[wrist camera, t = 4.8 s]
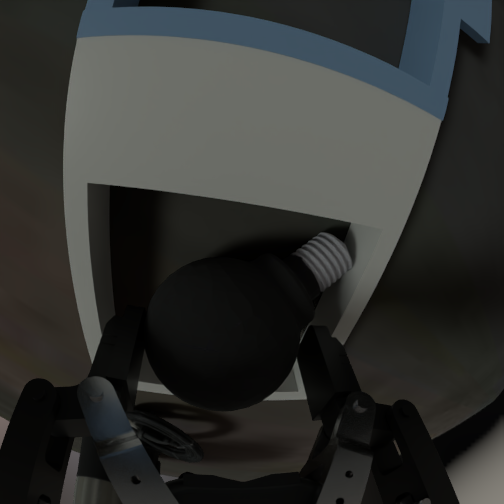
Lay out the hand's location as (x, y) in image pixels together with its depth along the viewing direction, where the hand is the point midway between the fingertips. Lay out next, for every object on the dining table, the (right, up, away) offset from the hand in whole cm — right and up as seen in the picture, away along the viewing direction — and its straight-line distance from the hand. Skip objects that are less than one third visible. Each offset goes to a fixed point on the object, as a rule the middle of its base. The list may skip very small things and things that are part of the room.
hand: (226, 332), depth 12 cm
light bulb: (0, +2, +2) cm, 3 cm away
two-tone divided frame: (+1, +9, -2) cm, 9 cm away
